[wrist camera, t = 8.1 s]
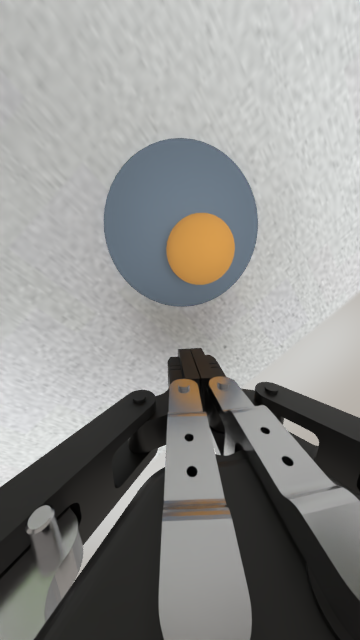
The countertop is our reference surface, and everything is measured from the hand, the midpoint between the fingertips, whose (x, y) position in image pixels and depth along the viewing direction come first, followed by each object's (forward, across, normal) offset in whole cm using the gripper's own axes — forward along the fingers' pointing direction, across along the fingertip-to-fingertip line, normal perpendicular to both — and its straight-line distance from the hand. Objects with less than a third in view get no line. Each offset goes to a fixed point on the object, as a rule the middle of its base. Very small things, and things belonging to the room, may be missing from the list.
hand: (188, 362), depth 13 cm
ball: (+5, -2, -7) cm, 9 cm away
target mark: (+8, -1, -9) cm, 12 cm away
